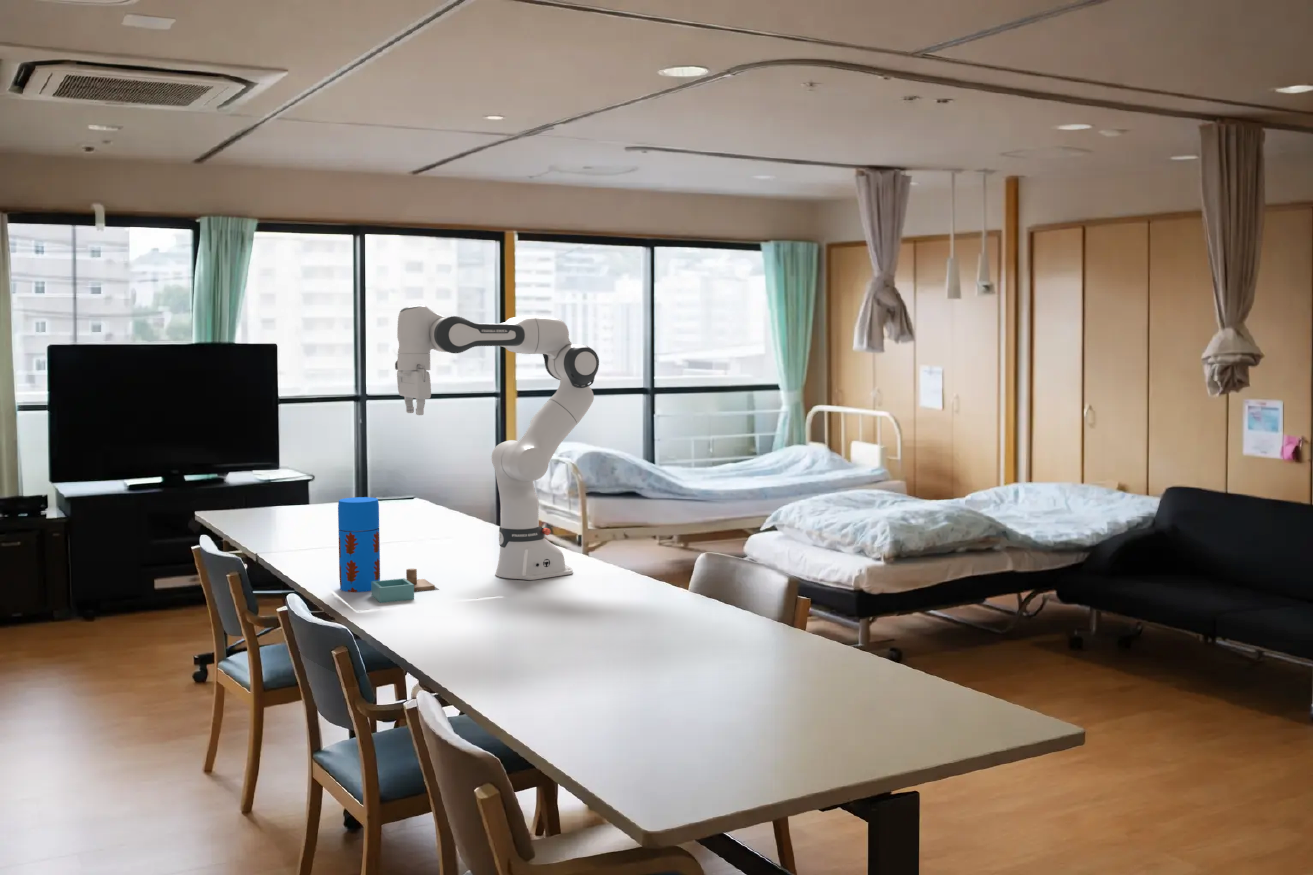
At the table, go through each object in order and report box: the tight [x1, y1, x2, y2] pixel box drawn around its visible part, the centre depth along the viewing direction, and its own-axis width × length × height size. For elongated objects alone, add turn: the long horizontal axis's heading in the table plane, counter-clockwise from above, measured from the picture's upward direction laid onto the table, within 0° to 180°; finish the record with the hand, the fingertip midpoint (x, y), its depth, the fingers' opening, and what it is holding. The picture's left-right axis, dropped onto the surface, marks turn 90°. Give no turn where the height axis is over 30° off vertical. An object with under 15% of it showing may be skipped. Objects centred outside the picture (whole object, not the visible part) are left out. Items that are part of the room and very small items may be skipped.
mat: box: [414, 586, 440, 593], centre depth 329 cm, size 12×12×1 cm
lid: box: [405, 568, 436, 592], centre depth 329 cm, size 10×10×5 cm
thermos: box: [337, 496, 381, 593], centre depth 327 cm, size 11×11×25 cm
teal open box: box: [370, 577, 415, 604], centre depth 316 cm, size 9×9×4 cm
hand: (414, 414), depth 332 cm, fingers open, 8 cm apart
